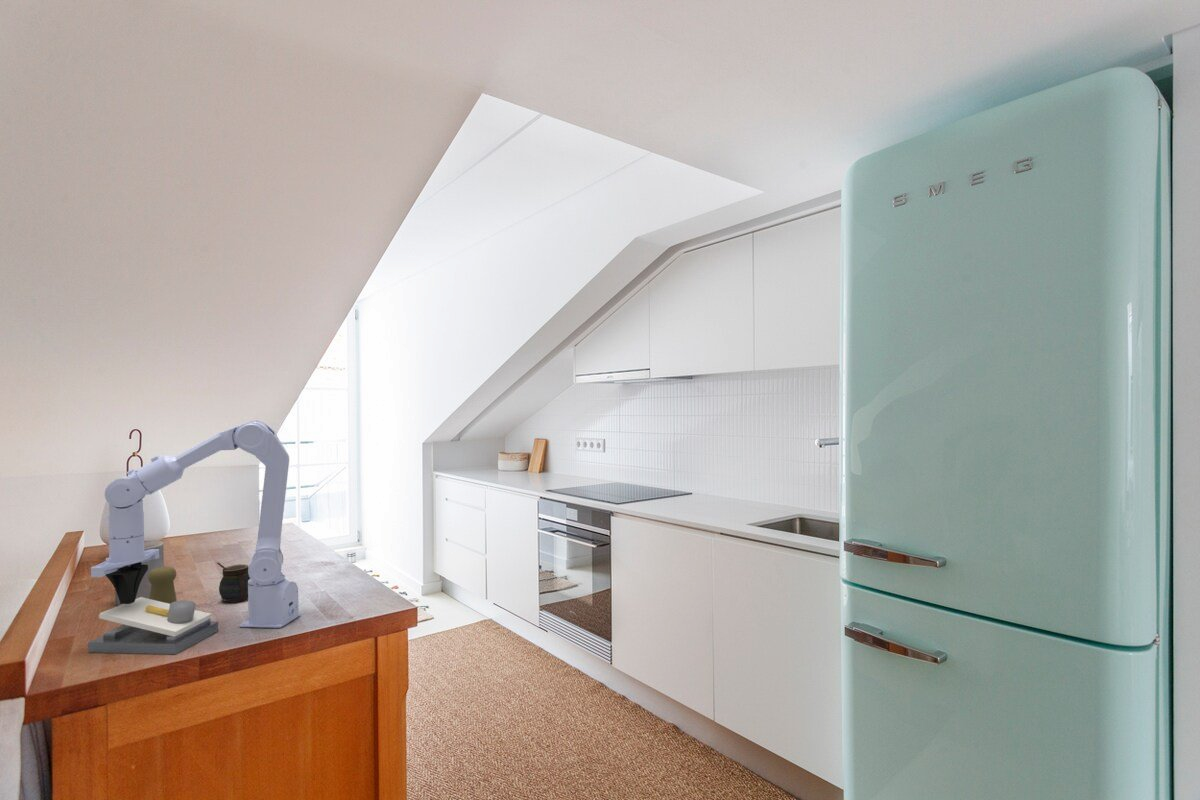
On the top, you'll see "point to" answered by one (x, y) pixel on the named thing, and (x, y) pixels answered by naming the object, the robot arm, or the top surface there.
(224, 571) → the mate gourd
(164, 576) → the cork
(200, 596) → the top surface
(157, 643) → the grey rectangular base
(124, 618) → the plate
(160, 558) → the pillar candle
